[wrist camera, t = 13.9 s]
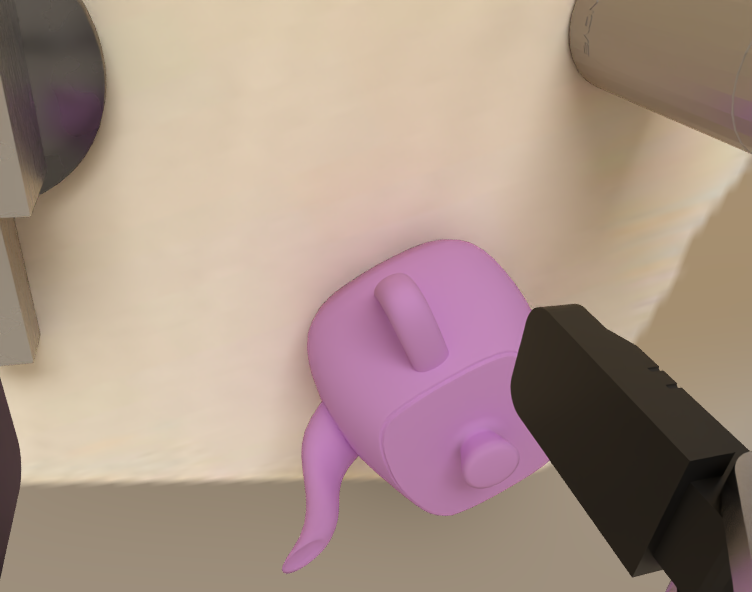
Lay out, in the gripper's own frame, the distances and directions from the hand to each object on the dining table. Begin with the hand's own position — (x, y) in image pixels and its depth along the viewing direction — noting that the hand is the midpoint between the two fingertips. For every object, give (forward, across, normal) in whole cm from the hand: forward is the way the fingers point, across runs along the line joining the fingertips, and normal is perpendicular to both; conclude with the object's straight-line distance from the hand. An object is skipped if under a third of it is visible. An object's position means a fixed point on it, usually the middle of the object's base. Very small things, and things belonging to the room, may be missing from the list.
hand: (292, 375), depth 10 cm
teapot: (+30, -15, +22) cm, 40 cm away
